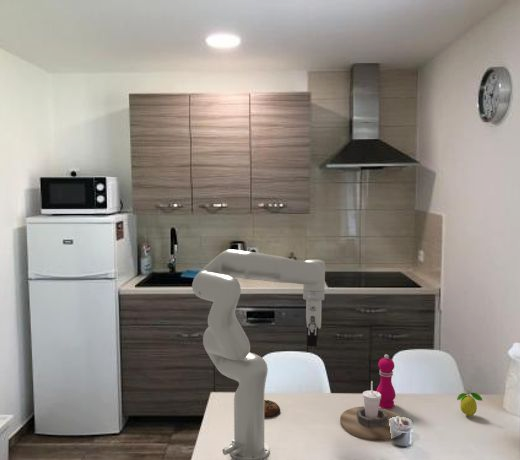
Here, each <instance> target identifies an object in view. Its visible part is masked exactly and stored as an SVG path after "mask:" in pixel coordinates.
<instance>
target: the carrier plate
mask: <svg viewBox="0 0 520 460" xmlns="http://www.w3.org/2000/svg"><path fill="white" fill-rule="evenodd" d="M396 416H399V415H398V414H397V413H395V412H394V411H391V410H389V409H385V408H381V407H379V410H378V416H377V419H369V418H366V415H365V406H356V407H352V408H349V409H346V410H344V411H343V412H342V413H341V414H340V419H339V421H340V422H339V423H340V426H341V428H342V429H343V430H344V431H345V432H346V433H348V434H350V435H352V436H353V437H357V438H360V439H363V440H369V441H389V440H390V441H391V440H392V439H391V433H390V426H389V419H390V418H392V417H396Z"/></svg>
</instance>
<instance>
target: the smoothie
mask: <svg viewBox="0 0 520 460" xmlns="http://www.w3.org/2000/svg"><path fill="white" fill-rule="evenodd" d="M373 384H374V383H373V381H372V380H371V381H370V390H364V391H363V392H362V398H363V404H364V405H363V407H365V415H366V418H369V419H377V416H378V410H379V408H380V407H379V403H380V399H381V394H380V393H379V392H376V391H377V390H373Z"/></svg>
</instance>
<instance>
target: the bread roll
mask: <svg viewBox="0 0 520 460" xmlns="http://www.w3.org/2000/svg"><path fill="white" fill-rule="evenodd" d="M280 412H281V407H280V406H279V404H277V402H275V401H272V400H269V399H264V418H273V417H276V416H278V415H280Z"/></svg>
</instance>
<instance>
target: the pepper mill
mask: <svg viewBox="0 0 520 460" xmlns="http://www.w3.org/2000/svg"><path fill="white" fill-rule="evenodd" d="M377 364H378V366H377V367H378V369H379V373H378V374H379V375H380V380H379V381H380V382H379V384H378V386H377V388H376V390H375V391H376V392H379V393H380V394H381V399H380V403H379V408H382V409H385V410H389V409H393V408H394V407H395V401H394V400H395V399H396V390H395V388H394V386H393V383H392V378H393V375H394V374H393V373H394V371H393V370H394V369H395V362H394V361H393V360H392V359H391V358H390V356H389V354H387V353H386V354H384V356H383V357H381V359H379V361H378V363H377Z"/></svg>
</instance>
